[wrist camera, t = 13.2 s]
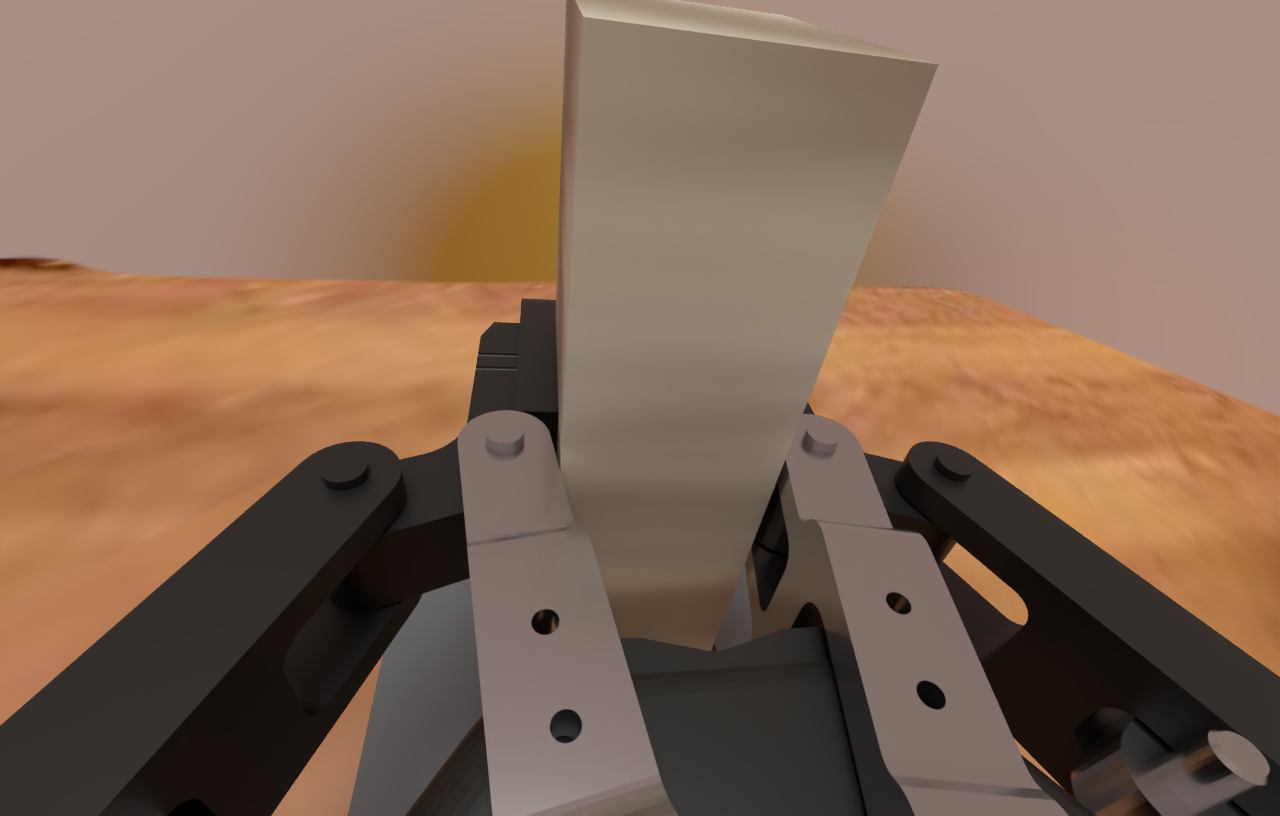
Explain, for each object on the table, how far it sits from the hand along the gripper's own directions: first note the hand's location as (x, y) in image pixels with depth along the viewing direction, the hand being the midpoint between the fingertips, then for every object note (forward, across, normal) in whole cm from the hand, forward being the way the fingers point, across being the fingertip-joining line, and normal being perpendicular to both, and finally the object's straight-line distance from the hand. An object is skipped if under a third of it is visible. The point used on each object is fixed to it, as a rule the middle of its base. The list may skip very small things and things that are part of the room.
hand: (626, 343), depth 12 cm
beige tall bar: (-3, 0, -9) cm, 9 cm away
